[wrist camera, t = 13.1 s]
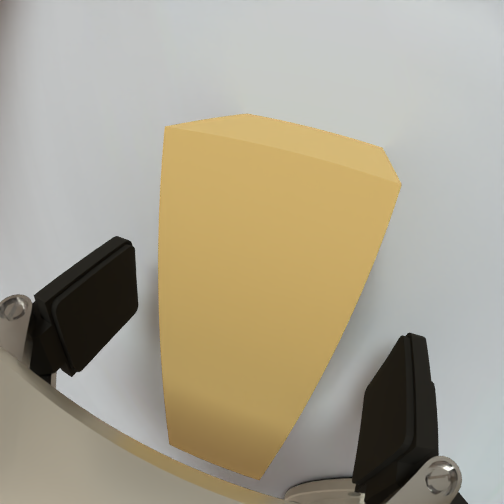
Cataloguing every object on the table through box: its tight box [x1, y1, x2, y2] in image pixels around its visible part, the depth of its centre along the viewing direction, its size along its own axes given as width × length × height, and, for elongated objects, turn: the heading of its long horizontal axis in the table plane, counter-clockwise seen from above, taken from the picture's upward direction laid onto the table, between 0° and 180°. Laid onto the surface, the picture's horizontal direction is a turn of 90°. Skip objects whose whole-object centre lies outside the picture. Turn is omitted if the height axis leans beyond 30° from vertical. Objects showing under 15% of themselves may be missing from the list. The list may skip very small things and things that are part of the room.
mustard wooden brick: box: [158, 114, 401, 480], centre depth 10 cm, size 4×12×4 cm, turn 170°
